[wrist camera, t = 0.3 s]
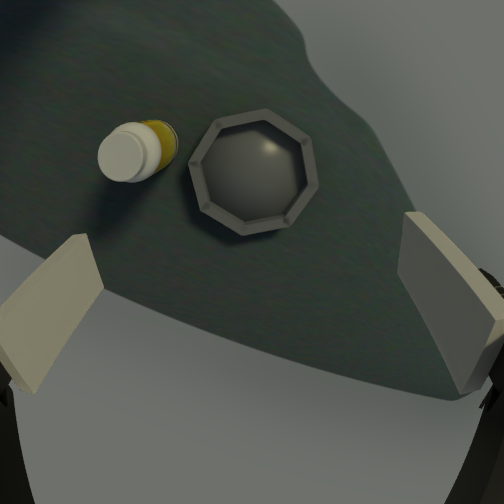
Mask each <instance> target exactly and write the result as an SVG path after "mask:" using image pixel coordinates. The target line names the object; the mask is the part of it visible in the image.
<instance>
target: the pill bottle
mask: <svg viewBox="0 0 504 504" xmlns="http://www.w3.org/2000/svg"><path fill="white" fill-rule="evenodd" d="M177 150H178V138H177V135H176V133H175V131H174V130H173V128H172V127H171V126H170V125H168V124H167V123H165V122H163V121H160V120H146V121H137V122H130V123H126V124H123V125H121V126H119V127H117V128H116V129H115V130H114V131H113V132H112V133H111V134H110V135H109V136H107V137H106V138H105V139H104V140H103V142H102V143H101V145H100V147H99V151H98V163H99V166H100V169H101V171H102V172H103V173H104V175H105V176H107V177H108V178H109V179H111V180H114V181H118V182H123V181H125V182H132V183H133V182H139V181H142V180H144V179H146V178H148V177H150V176H151V175H153V174H154V173H156V172H158V171H159V170H161V169H162V168H164V167H166V166H167V165H168V164H169V163H171V161H172V160H173V159H174V157H175V156H176V153H177Z"/></svg>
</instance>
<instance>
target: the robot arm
mask: <svg viewBox="0 0 504 504" xmlns="http://www.w3.org/2000/svg"><path fill="white" fill-rule="evenodd" d="M397 274H398V276H399V277H400V279H401V281H402V282H403V284H404V286H405V288H406V289H407V291H408V293H409V295H410V296H411V298H412V300H413V302H414V303H415V305H416V307H417V309H418V311H419V313H420V314H421V316H422V318H423V320H424V322H425V324H426V326H427V327H428V329H429V331H430V333H431V335H432V337H433V339H434V341H435V343H436V345H437V347H438V349H439V351H440V353H441V355H442V357H443V359H444V361H445V363H446V365H447V367H448V369H449V372H450V374H451V376H452V378H453V380H454V382H455V385H456V387H457V389H458V391H459V394H460V395H462V394H465V393H469V392H472V391H476V390H479V389H481V387H482V386H483V384H484V382H485V380H486V378H487V377H488V375H489V377H490V379H491V381H492V383H493V385H492V387H491V389H490V390H489V392H488V393H487V395H486V397H485V398H484V400H483V401H482V403H481V405H480V406H479V408H481V409H482V407H483V406H484V404H485V406H484V409H483V412H482V415H481V418H480V421H479V424H478V427H477V430H476V433H475V436H474V438H473V441H472V444H471V446H470V449H469V451H468V454H467V456H466V459H465V461H464V463H463V466H462V468H461V471H460V472H459V475H458V477H457V479H456V481H455V483H454V485H453V487H452V489H451V491H450V493H449V495H448V497H447V499H446V501H445V503H444V504H504V288H503V287H501V285H500V284H499V282H498V281H497V280H496V279H495V278H494V277H493V276H492V275H490V274H489V273H487V272H486V271H484V270H482V269H481V268H480V269H477V268H476V267H475V266H474V265H473V263H472V262H471V261H470V260H469V259H468V258H467V257H466V256H465V255H464V254H463V253H462V252H461V251H460V250H459V248H458V247H457V246H456V245H455V244H453V242H452V241H451V240H450V239H449V238H448V237H447V236H446V235H445V234H444V233H443V232H442V231H441V230H440V229H439V228H438V227H437V226H436V225H435V224H434V223H432V222H431V221H430V220H429V219H428V218H427V217H426V216H425V215H424V214H423V213H422V212H404V221H403V230H402V239H401V247H400V255H399V262H398V269H397ZM103 288H104V286H103V283H102V280H101V278H100V275H99V272H98V269H97V266H96V263H95V260H94V257H93V254H92V251H91V248H90V244H89V241H88V238H87V235H86V234H77V235H72V236H71V237H70V238H69V239H68V240H67V241H66V242H65V243H64V244H62V245H61V246H60V247H59V248H58V249H57V250H56V251H55V252H54V253H53V254H52V255H51V256H50V257H49V258H47V259H46V260H45V261H44V262H43V263H42V264H41V265H40V266H39V267H38V268H37V269H36V270H35V271H34V272H33V273H32V274H31V275H30V276H29V277H28V278H27V279H26V280H25V281H24V282H23V283H22V284H21V285H20V286H19V287H18V288H17V290H16V291H15V292H14V293H13V294H12V295H11V296H10V297H9V298H8V299H7V300H6V301H5V302H4V303H3V304H2V306H1V307H0V504H35V502H34V499H33V496H32V492H31V489H30V485H29V481H28V477H27V473H26V469H25V465H24V460H23V456H22V450H21V446H20V440H19V434H18V428H17V421H16V414H15V407H14V397H13V391H12V389H11V388H10V386H9V385H8V384H9V382H10V381H11V379H12V380H13V381H14V383H15V384H16V385H17V387H18V388H19V389H20V390H21V391H23V392H27V393H31V394H35V393H36V391H37V389H38V388H39V386H40V384H41V382H42V381H43V379H44V378H45V376H46V374H47V373H48V371H49V369H50V368H51V366H52V364H53V363H54V361H55V359H56V358H57V356H58V355H59V353H60V351H61V350H62V348H63V347H64V345H65V343H66V342H67V341H68V339H69V337H70V336H71V334H72V333H73V331H74V330H75V328H76V327H77V325H78V324H79V322H80V321H81V319H82V318H83V316H84V315H85V313H86V312H87V310H88V309H89V307H90V306H91V305H92V303H93V301H94V300H95V299H96V297H97V296H98V295H99V293H100V292H101V290H102V289H103Z"/></svg>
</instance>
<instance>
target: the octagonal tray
mask: <svg viewBox="0 0 504 504" xmlns="http://www.w3.org/2000/svg"><path fill="white" fill-rule="evenodd" d="M188 166H189V170H190V174H191V177H192V181H193V185H194V189H195V193H196V196H197V200H198V204H199V207H200V211H202V212H203V213H205V214H207V215H208V216H210V217H212V218H213V219H215V220H217V221H218V222H220V223H222V224H223V225H225V226H227V227H228V228H230V229H232V230H233V231H235V232H237V233H238V234H240V235H242V236H244V235H249V234H254V233H259V232H264V231H270V230H275V229H280V228H285V227H290V226H291V225H292V224H293V222H294V221H295V220H296V218H297V217H298V215H299V214H300V213H301V211H302V210H303V209H304V207H305V206H306V204H307V203H308V202H309V200H310V199H311V198H312V196H313V195H314V193H315V192H316V191H317V189H318V188H319V183H318V177H317V171H316V165H315V159H314V153H313V148H312V142H311V137H309V136H308V135H306V134H305V133H304V132H302V131H301V130H299V129H298V128H296V127H295V126H293V125H292V124H290V123H289V122H287V121H286V120H284V119H283V118H281V117H280V116H278V115H277V114H275V113H274V112H272V111H270V110H269V109H267V108H266V109H260V110H255V111H250V112H246V113H241V114H236V115H232V116H227V117H223V118H219V119H215V120H214V121H213V123H212V124H211V126H210V127H209V129H208V131H207V132H206V134H205V135H204V137H203V139H202V140H201V142H200V143H199V145H198V147H197V148H196V150H195V152H194V153H193V155H192V157H191V158H190V160H189V162H188Z"/></svg>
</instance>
